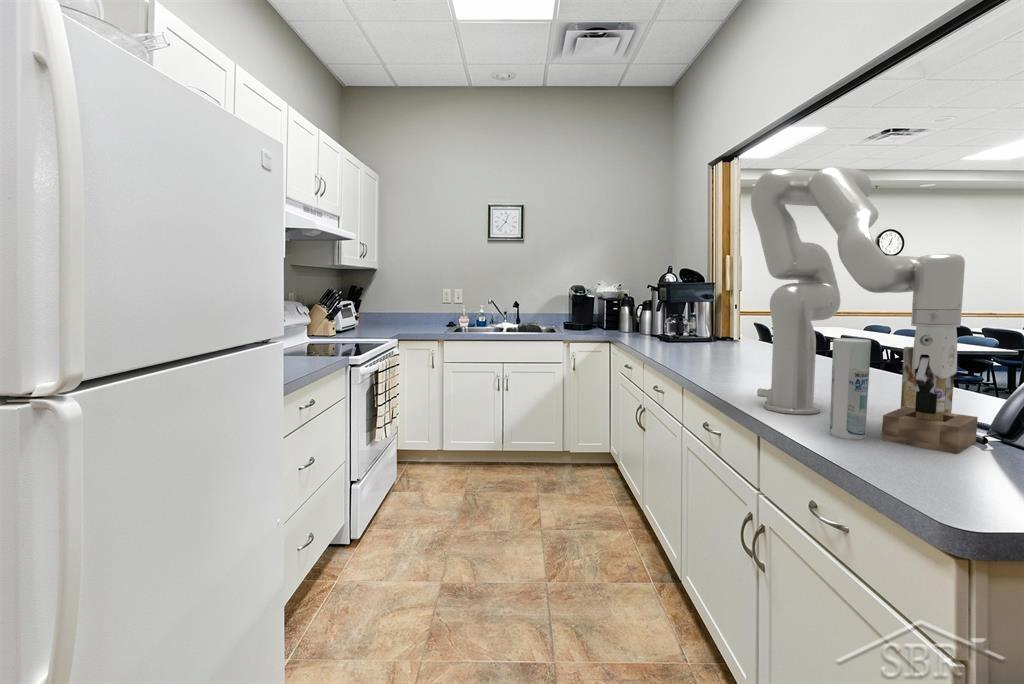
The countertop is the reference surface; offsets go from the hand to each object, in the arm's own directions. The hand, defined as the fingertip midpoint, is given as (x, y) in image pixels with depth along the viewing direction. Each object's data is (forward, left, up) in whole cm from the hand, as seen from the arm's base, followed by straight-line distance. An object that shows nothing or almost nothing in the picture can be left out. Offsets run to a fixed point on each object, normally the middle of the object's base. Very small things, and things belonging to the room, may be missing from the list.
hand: (929, 409), depth 104 cm
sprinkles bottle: (0, 0, -4) cm, 4 cm away
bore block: (0, 0, -6) cm, 6 cm away
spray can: (-12, -8, -6) cm, 15 cm away
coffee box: (-7, +23, -6) cm, 25 cm away
